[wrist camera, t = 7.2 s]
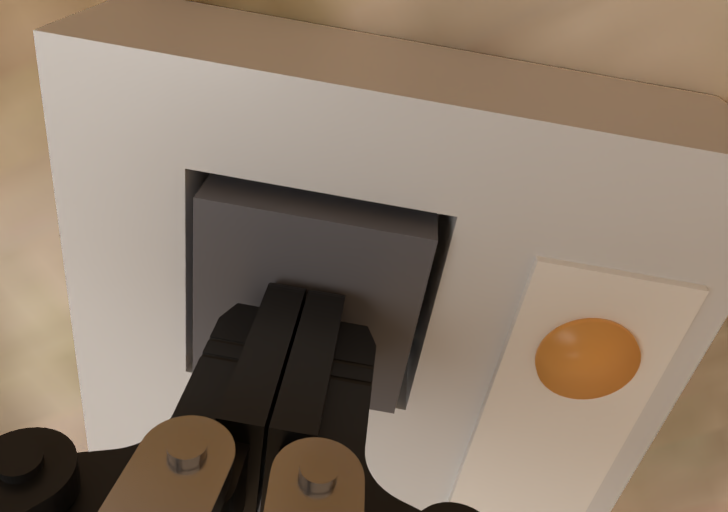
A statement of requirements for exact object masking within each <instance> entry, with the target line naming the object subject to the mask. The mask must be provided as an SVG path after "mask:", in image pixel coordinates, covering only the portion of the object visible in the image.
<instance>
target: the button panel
mask: <svg viewBox="0 0 728 512" xmlns="http://www.w3.org/2000/svg"><path fill="white" fill-rule="evenodd" d="M33 34H34V41H35V49H36V56H37V64H38V72H39V79H40V87H41V94H42V102H43V110H44V117H45V125H46V132H47V140H48V148H49V155H50V163H51V170H52V178H53V186H54V193H55V201H56V208H57V216H58V224H59V231H60V239H61V247H62V254H63V262H64V269H65V277H66V285H67V292H68V300H69V307H70V315H71V323H72V330H73V338H74V345H75V353H76V361H77V368H78V376H79V383H80V391H81V399H82V406H83V414H84V421H85V429H86V437H87V444H88V452H90V451H100V450H110V449H118V448H124V447H128V446H132V445H135V444H137V443H140V442H141V441H142V439H143V438H144V437H145V435H146V434H147V433H148V432H149V431H150V430H151V429H153V428H154V427H155V426H157V425H158V424H160V423H162V422H164V421H166V420H169V419H170V418H171V416H172V415H173V413H174V411H175V408H176V406H177V404H178V402H179V400H180V398H181V396H182V394H183V392H184V390H185V388H186V385H187V383H188V381H189V379H190V377H191V375H192V373H193V197H194V196H195V194H196V193H197V192H198V190H199V189H200V187H201V186H202V185H203V183H204V182H205V180H206V179H207V178H208V176H209V175H210V174H211V173H213V174H218V175H224V176H230V177H235V178H241V179H247V180H252V181H258V182H263V183H269V184H275V185H280V186H286V187H292V188H297V189H303V190H309V191H314V192H320V193H325V194H331V195H337V196H342V197H348V198H354V199H359V200H365V201H370V202H376V203H382V204H387V205H393V206H399V207H404V208H410V209H416V210H421V211H427V212H432V213H437V222H438V243H437V247H436V251H435V255H434V259H433V263H432V267H431V271H430V275H429V279H428V282H427V286H426V290H425V294H424V298H423V302H422V306H421V310H420V314H419V318H418V322H417V326H416V329H415V333H414V337H413V341H412V345H411V349H410V353H409V357H408V361H407V365H406V369H405V373H404V377H403V380H402V384H401V388H400V392H399V396H398V400H397V404H396V408H395V412H394V414H393V413H387V412H382V411H376V410H370V409H369V418H368V427H367V436H366V445H365V458H366V463H367V466H368V469H369V471H370V473H371V474H372V476H373V478H374V479H375V480H376V482H377V483H378V484H379V485H380V486H381V487H382V488H383V489H384V490H385V491H387V492H388V493H389V494H391V495H392V496H394V497H396V498H397V499H399V500H401V501H403V502H405V503H407V504H409V505H411V506H413V507H415V508H417V509H419V510H421V511H422V510H423V509H425V508H427V507H428V506H430V505H433V504H436V503H441V502H454V503H460V504H464V505H467V506H469V507H472V508H474V509H476V510H477V511H479V512H611V510H612V509H613V507H614V505H615V504H616V502H617V500H618V499H619V497H620V495H621V494H622V492H623V490H624V489H625V487H626V485H627V484H628V482H629V480H630V479H631V477H632V475H633V473H634V472H635V470H636V468H637V467H638V465H639V463H640V462H641V460H642V458H643V457H644V455H645V453H646V452H647V450H648V448H649V447H650V445H651V443H652V442H653V440H654V438H655V437H656V435H657V433H658V432H659V430H660V428H661V427H662V425H663V423H664V422H665V420H666V418H667V417H668V415H669V413H670V412H671V410H672V408H673V407H674V405H675V403H676V402H677V400H678V398H679V396H680V395H681V393H682V391H683V390H684V388H685V386H686V385H687V383H688V381H689V380H690V378H691V376H692V375H693V373H694V371H695V370H696V368H697V366H698V365H699V363H700V361H701V360H702V358H703V356H704V355H705V353H706V351H707V350H708V348H709V346H710V345H711V343H712V341H713V340H714V338H715V336H716V335H717V333H718V331H719V330H720V328H721V326H722V325H723V323H724V321H725V320H726V318H727V316H728V104H727V103H726V102H725V101H723V100H722V99H721V98H719V97H718V96H715V95H709V94H704V93H698V92H693V91H687V90H682V89H676V88H670V87H665V86H659V85H654V84H648V83H643V82H637V81H632V80H626V79H620V78H615V77H609V76H604V75H598V74H593V73H587V72H581V71H576V70H570V69H565V68H559V67H554V66H548V65H543V64H537V63H531V62H526V61H520V60H515V59H509V58H504V57H498V56H492V55H487V54H481V53H476V52H470V51H465V50H459V49H453V48H448V47H442V46H437V45H431V44H426V43H420V42H415V41H409V40H403V39H398V38H392V37H387V36H381V35H376V34H370V33H364V32H359V31H353V30H348V29H342V28H337V27H331V26H326V25H320V24H314V23H309V22H303V21H298V20H292V19H287V18H281V17H275V16H270V15H264V14H259V13H253V12H248V11H242V10H237V9H231V8H225V7H220V6H214V5H209V4H203V3H198V2H192V1H186V0H108V1H105V2H103V3H100V4H98V5H95V6H93V7H90V8H88V9H85V10H83V11H80V12H78V13H75V14H72V15H70V16H67V17H65V18H62V19H60V20H57V21H55V22H52V23H50V24H47V25H44V26H42V27H39V28H37V29H34V30H33Z"/></svg>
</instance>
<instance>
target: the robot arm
mask: <svg viewBox="0 0 728 512" xmlns="http://www.w3.org/2000/svg"><path fill="white" fill-rule="evenodd" d="M306 294H307V289H304V288H299V287H293V286H287V285H282V284H276V283H271V282H270V283H269V284H268V286H267V289H266V291H265V294H264V296H263V299H262V302H261V304H260V307H257V306H252V305H246V304H241V303H237V304H236V305H234V306H233V307H232V308H230V309H229V310H228V311H227V312H225V313H224V314H223V315H222V316H220V317H219V318H218V321H217V323H216V325H215V327H214V329H213V331H212V333H211V335H210V339H209V340H208V341H207V344H206V346H205V348H204V350H203V352H202V356H200V358H199V360H198V362H197V365H196V367H195V369H194V371H193V373H192V375H191V377H190V379H189V381H188V383H187V385H186V388H185V390H184V392H183V394H182V396H181V398H180V400H179V402H178V404H177V406H176V408H175V411H174V413H173V415H172V416H171V418H170V419H169V420H166V421H164V422H162V423H160V424H158V425H157V426H155V427H154V428H153V429H151V430H150V431H149V432H148V433H147V434H146V435H145V437H144V438H143V439H142V441H141V442H140V443H137V444H135V445H132V446H128V447H124V448H118V449H110V450H100V451H90V452H79V453H77V451H76V448H75V446H74V444H73V442H72V441H71V440H70V439H69V438H68V437H67V436H66V435H64V434H63V433H61V432H58V431H56V430H53V429H48V428H40V427H35V428H24V429H18V430H15V431H11V432H8V433H6V434H3V435H1V436H0V512H258V510H259V506H260V502H261V507H260V512H479V511H477V510H476V509H474V508H472V507H469V506H467V505H464V504H460V503H454V502H441V503H436V504H433V505H430V506H428V507H427V508H425V509H423V510H422V511H421V510H419V509H417V508H415V507H413V506H411V505H409V504H407V503H405V502H403V501H401V500H399V499H397V498H396V497H394V496H392V495H391V494H389V493H388V492H387V491H385V490H384V489H383V488H382V487H381V486H380V485H379V484H378V483H377V482H376V480H375V479H374V478H373V476H372V474H371V473H370V471H369V469H368V466H367V463H366V458H365V445H366V436H367V427H368V418H369V409H370V400H371V391H372V381H373V372H374V363H375V354H376V344H375V341H374V339H373V337H372V335H371V332H370V330H369V328H368V326H364V325H358V324H353V323H347V322H342V321H341V320H342V314H343V308H344V303H345V296H344V295H338V294H333V293H327V292H322V291H316V290H310V289H309V291H308V294H307V298H306Z"/></svg>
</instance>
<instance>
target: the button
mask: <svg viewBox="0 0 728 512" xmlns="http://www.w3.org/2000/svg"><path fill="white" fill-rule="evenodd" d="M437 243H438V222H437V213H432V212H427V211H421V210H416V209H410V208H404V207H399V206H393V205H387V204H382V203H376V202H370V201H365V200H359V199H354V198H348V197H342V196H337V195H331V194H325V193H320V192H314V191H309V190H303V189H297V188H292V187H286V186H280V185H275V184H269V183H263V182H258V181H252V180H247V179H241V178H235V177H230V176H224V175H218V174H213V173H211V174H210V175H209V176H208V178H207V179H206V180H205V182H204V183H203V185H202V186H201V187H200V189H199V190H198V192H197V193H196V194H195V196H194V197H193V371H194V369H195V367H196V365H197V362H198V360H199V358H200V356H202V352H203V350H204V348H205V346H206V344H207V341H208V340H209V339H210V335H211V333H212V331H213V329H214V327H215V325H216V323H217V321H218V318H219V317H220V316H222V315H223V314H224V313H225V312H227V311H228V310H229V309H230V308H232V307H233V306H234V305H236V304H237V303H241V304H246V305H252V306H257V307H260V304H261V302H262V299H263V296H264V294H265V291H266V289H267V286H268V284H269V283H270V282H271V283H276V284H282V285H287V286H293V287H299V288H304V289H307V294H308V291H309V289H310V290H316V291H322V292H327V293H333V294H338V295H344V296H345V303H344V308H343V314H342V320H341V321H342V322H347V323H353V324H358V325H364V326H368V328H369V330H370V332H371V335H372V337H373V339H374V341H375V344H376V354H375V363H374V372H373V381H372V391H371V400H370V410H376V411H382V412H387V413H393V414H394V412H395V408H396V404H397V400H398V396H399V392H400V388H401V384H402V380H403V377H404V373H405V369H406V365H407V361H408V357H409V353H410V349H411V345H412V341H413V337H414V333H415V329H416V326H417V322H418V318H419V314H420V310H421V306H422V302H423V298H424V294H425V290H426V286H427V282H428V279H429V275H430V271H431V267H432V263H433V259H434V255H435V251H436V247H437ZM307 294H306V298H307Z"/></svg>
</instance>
